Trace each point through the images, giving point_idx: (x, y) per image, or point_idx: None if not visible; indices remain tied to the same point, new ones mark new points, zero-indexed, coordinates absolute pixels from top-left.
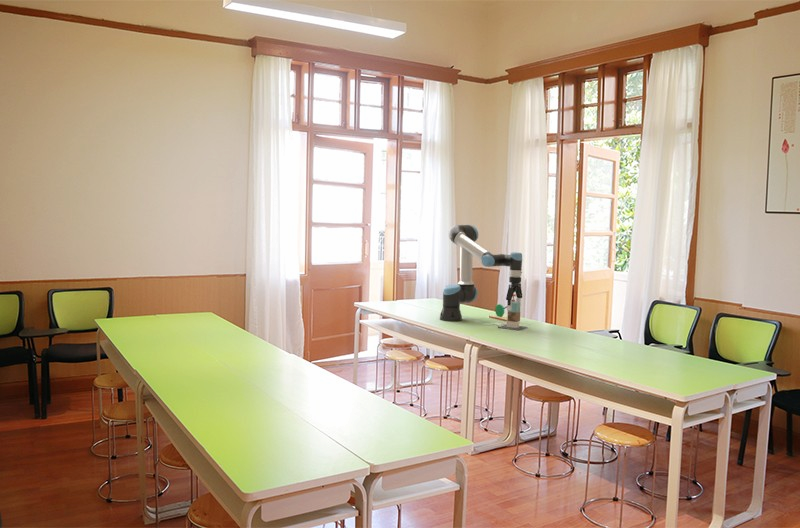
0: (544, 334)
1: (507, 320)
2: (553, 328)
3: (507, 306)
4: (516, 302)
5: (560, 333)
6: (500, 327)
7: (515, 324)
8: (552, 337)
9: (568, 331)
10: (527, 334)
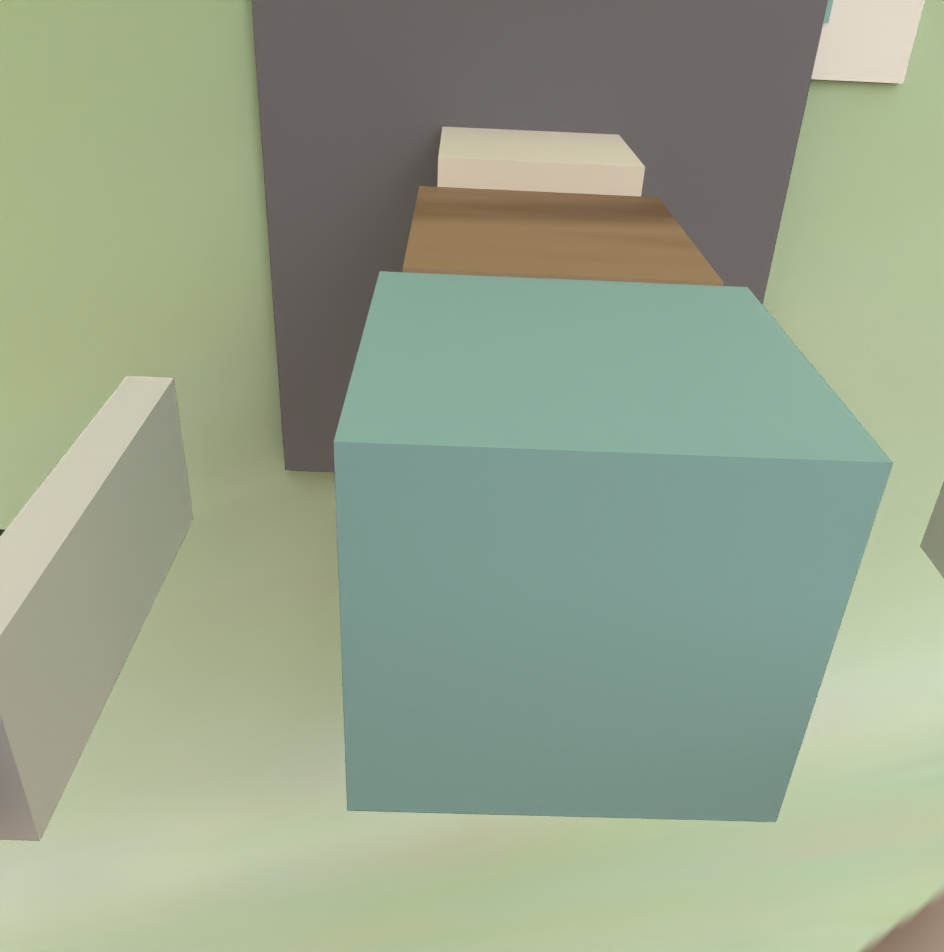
0: (276, 827)
1: (418, 192)
2: (871, 785)
3: (69, 459)
4: (623, 730)
5: (509, 925)
6: (254, 31)
7: None
8: (155, 931)
9: (727, 948)
10: None
